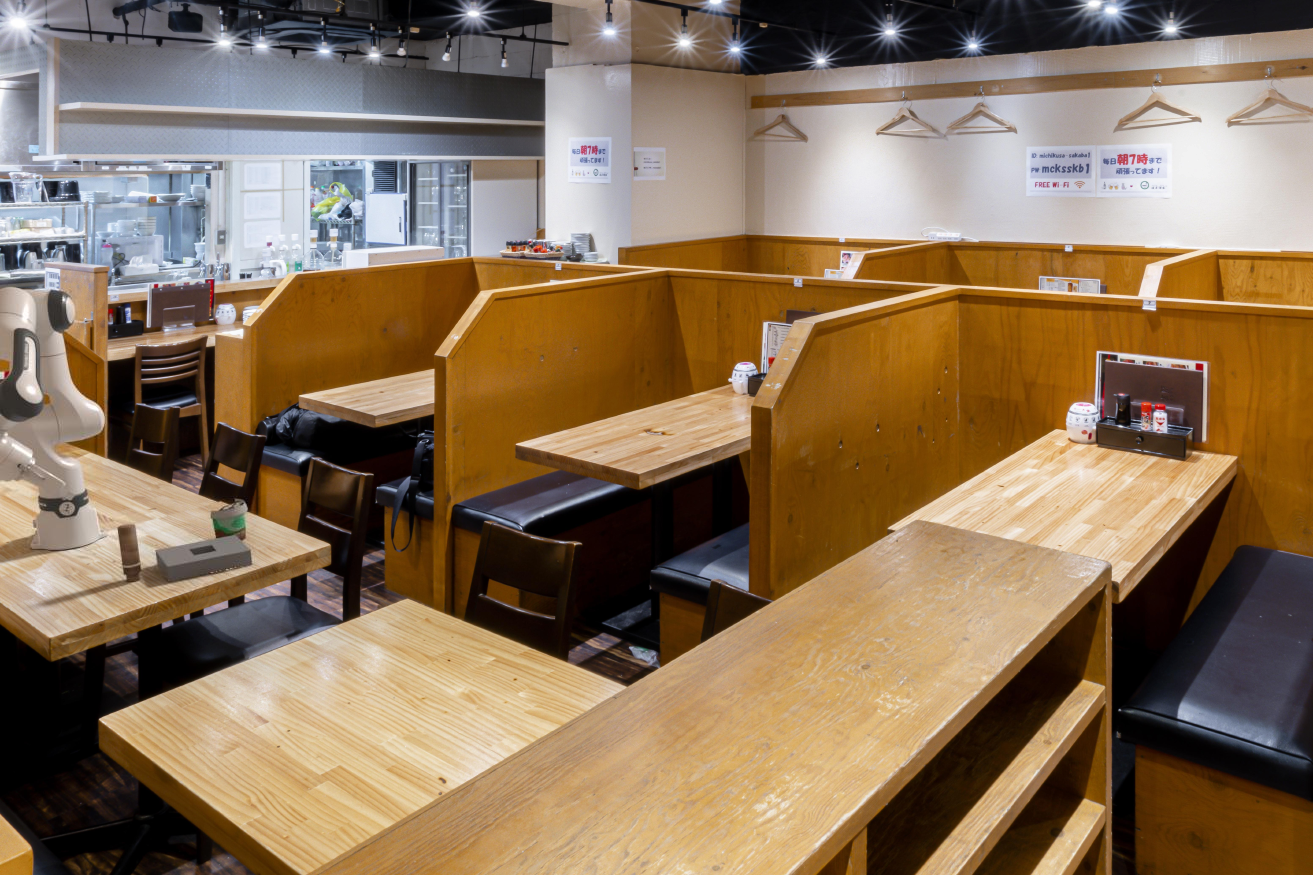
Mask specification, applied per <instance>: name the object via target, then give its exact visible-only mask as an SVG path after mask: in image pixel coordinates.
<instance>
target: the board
mask: <svg viewBox="0 0 1313 875" xmlns="http://www.w3.org/2000/svg"><path fill="white" fill-rule="evenodd" d="M155 558H156V565H157V566H158V567H159V569H160V571H161V572H162V574H164V576H165V578H166V580H167V581H168V582H170V583H171V582H175V581H180V580H184V579H185V578H186V579H189V578H194V577H195V578H196V577H199V576H204V575H203V574H205V575H208V574H207V573H210V574H212V573H211V572H215V573H217V572H216V571H219V572H221V571H220V570H224V571H227V570H226V569H229V570H231V569H230V568H234V569H236V568H235V567H239V568H242V567H241V566H244V567H248V566H253V560H252V559H253V558H252V549H250V548H249V547H248V546H247V545H246V544H245V543H244V542H243V540H242V541H241V540H240V539H239V538H238V537H237V536H236V535H232V536H227V537H222V538H216V537H215V538H212V539H206V540H202V541H197V542H190V543H186V544H181V545H175V546H170V547H165V548H159V549H155ZM247 565H248V566H247Z"/></svg>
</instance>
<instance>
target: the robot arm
mask: <svg viewBox="0 0 1313 875" xmlns="http://www.w3.org/2000/svg"><path fill="white" fill-rule="evenodd" d="M75 317H76V307H75V304H74V301H73V299H72V298H71V295H69V294H68V293H67V292H66V291H62V290H59V289H58V290H57V289H51V290H45V289H32V288H31V289H25V288H24V289H22V288H18V287H15V286H8V287H3V288H0V360H3V361H7V362H9V371H8V372H9V373H8V374H7V376H6V377H5V378H4V379H3V380H2V381H0V480H2V481H4V482H6V483H7V482H11V481H15V482H19V481H21V480H22V481H23V482H26V483H29V484H30V485H33V486H35V487H37V488H38V494H39V495H38V496H37V498H38V499H37V503H38V508H39V511H40V512H39V513H38V515H36V518H35V519H33V520H32V527H33V528H34V529H35V531H34V532H35V534H34V536H33V538H32V540H31V543H30V549H31V548H32V549H31V550H52V551H56V550H57V551H59V550H68V549H69V550H70V549H75V548H79V547H84V546H86V545H90V544H92V543H94V542H96V541H98V540H99V539H102V538H105V537H106V536H108V534H109V533H108V531H107V530H105V529H104V528H101V527H100V524H99V518H98V512H97V509H96V508H95V507H94V506H93V505H91V504H90V503H89V502H90V500H89V493H88V489H86V485H85V480H84V479H85V478H84V473H83V465H82V464H81V462H80V461H79V460H78V459H77V458H74V457H72V456H69V455H66V454H61V453H58V452H56V450H55V445H58V444H64V443H70V442H76V441H77V442H78V441H83V440H85V439H89V438H93V437H94V436H96V435H99V434H100V433H101V432H102V431H103V429H104V426H105V423H106V422H105V421H106V418H105V413H104V411H103V409H102V408H101V407H100V405H99V404H97V402H95V401H93V400H91V399H89V398H87V397H86V396H85V395H84V394H82V393H81V392H80V391H79V389H78V388H77V387H76V386H75V384H74V382H73V380H72V377H71V374H70V368H69V364H68V358H67V356H68V355H67V351H66V345H65V340H64V335H63V333H64V332H65V331H66V330H68V329H70V328H71V327H72V326H73V324H74V321H75ZM44 395H47V396H48V397H49V402H50V403H47V404H45V396H44Z"/></svg>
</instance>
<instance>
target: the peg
mask: <svg viewBox="0 0 1313 875" xmlns="http://www.w3.org/2000/svg"><path fill="white" fill-rule="evenodd" d="M117 536H118V543H119V550H120V557H121V558H120V559H121V567H122V572H123V575H124V576H125V577H126V582H127V583H133V582H137V581H140V580H141V575H140V573H142V566H141V564H142V562H141V557H140V552H139V545H138V535H137V529H136V524H134V523H126V524H122V525H119V526H117Z"/></svg>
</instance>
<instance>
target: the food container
mask: <svg viewBox="0 0 1313 875" xmlns="http://www.w3.org/2000/svg"><path fill="white" fill-rule="evenodd" d="M248 510H249V509H248V506H247V504H246V502H245V500H243V499H239V498H234V502H233V503H231V504H228V505H224V506H222V507H220V509H217V510H211V511H210V519H211V520H212V524H213V525H212V526H213V530H214V535H215V539H216V538H222V537H227V536H232V535H236V536H237V537H238V538H239V539H240V540H241V541H242V542H243V541H244V540H245V539H246V538H247V535H246V534H247V533H246V532H247V530H246V512H247V511H248Z"/></svg>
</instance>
